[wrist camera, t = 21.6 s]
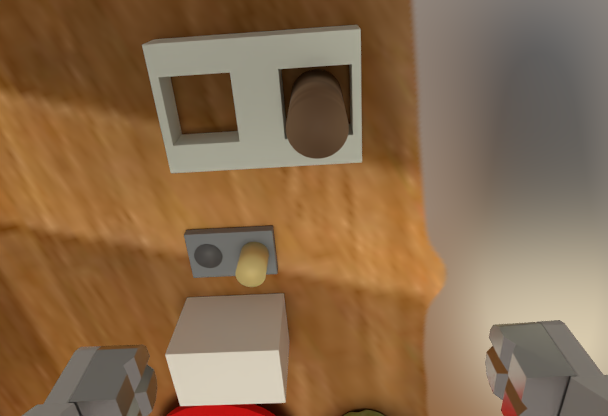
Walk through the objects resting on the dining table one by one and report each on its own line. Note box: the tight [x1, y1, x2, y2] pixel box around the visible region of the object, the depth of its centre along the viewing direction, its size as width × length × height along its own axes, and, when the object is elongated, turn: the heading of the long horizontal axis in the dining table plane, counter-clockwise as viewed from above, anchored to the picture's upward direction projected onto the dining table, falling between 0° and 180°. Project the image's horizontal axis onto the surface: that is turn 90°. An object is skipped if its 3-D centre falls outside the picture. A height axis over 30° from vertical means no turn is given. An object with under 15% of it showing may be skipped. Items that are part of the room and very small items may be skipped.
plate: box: [184, 226, 278, 287], centre depth 38 cm, size 7×4×4 cm, turn 94°
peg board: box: [142, 25, 362, 173], centre depth 32 cm, size 14×9×2 cm, turn 94°
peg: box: [286, 69, 349, 159], centre depth 29 cm, size 4×4×8 cm
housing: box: [165, 293, 289, 406], centre depth 40 cm, size 9×6×7 cm, turn 94°
